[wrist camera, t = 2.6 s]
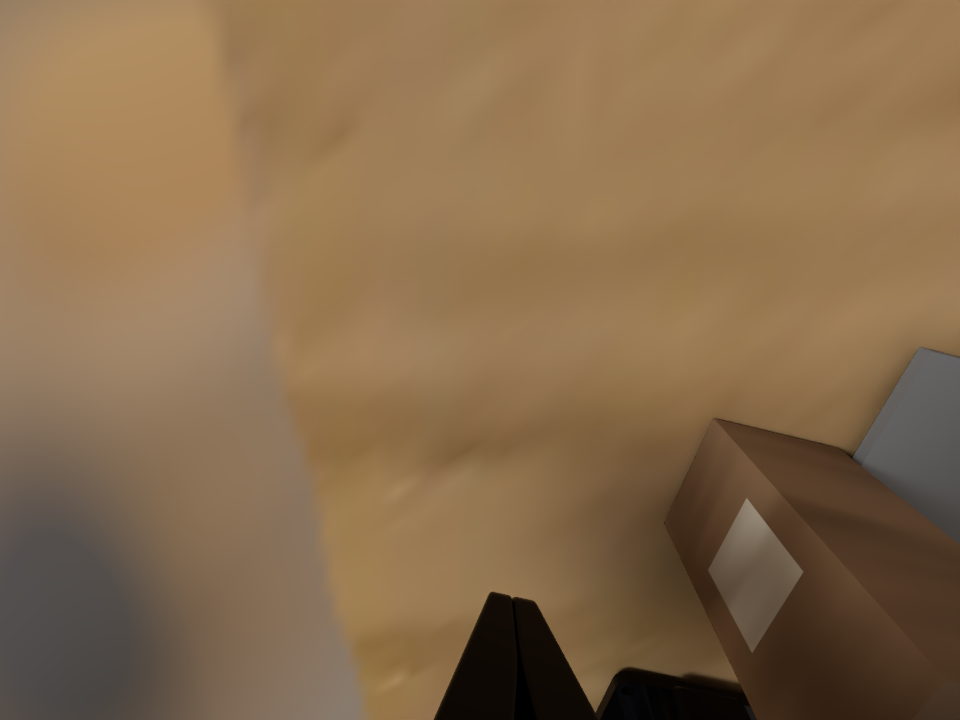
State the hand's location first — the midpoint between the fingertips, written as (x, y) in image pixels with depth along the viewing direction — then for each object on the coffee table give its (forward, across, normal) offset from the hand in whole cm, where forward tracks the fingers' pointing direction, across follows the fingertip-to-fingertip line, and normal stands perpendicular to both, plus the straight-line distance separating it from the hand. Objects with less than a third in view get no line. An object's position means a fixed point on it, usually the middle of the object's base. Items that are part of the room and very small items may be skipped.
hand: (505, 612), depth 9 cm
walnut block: (+7, -8, 0) cm, 10 cm away
